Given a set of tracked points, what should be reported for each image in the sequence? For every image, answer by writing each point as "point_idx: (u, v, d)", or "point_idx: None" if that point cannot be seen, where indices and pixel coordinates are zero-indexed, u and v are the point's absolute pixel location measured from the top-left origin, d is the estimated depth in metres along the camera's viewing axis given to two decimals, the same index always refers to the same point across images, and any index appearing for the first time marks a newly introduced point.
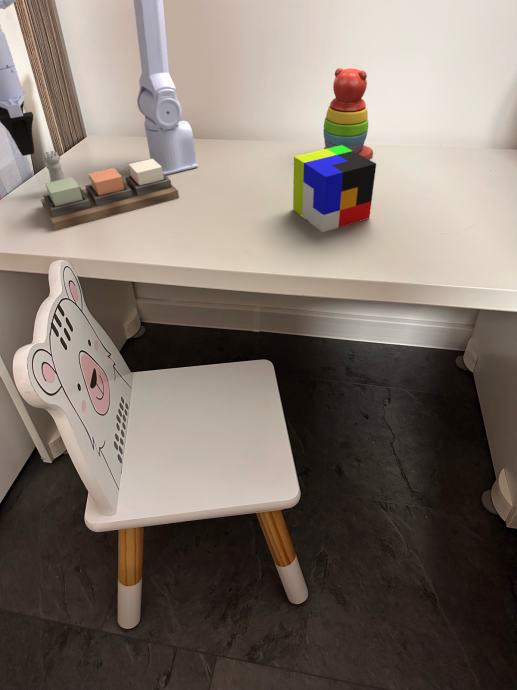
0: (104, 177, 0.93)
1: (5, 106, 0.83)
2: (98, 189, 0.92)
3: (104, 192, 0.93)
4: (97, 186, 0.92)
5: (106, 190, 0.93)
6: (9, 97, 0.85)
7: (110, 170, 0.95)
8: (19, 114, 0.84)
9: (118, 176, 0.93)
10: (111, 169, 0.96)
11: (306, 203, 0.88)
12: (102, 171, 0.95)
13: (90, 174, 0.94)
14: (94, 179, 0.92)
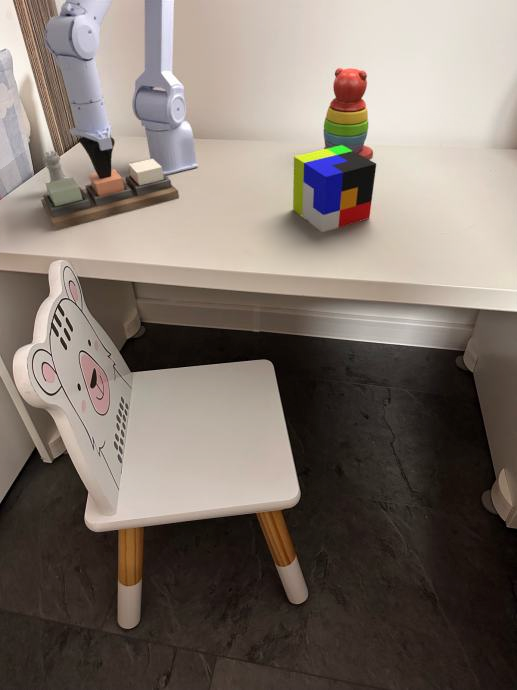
0: (104, 178, 0.93)
1: (96, 139, 0.84)
2: (98, 190, 0.92)
3: (104, 193, 0.93)
4: (97, 187, 0.92)
5: (106, 191, 0.93)
6: (97, 129, 0.86)
7: None
8: (109, 146, 0.84)
9: (118, 177, 0.93)
10: (111, 170, 0.96)
11: (307, 203, 0.88)
12: None
13: (90, 175, 0.94)
14: (94, 180, 0.93)
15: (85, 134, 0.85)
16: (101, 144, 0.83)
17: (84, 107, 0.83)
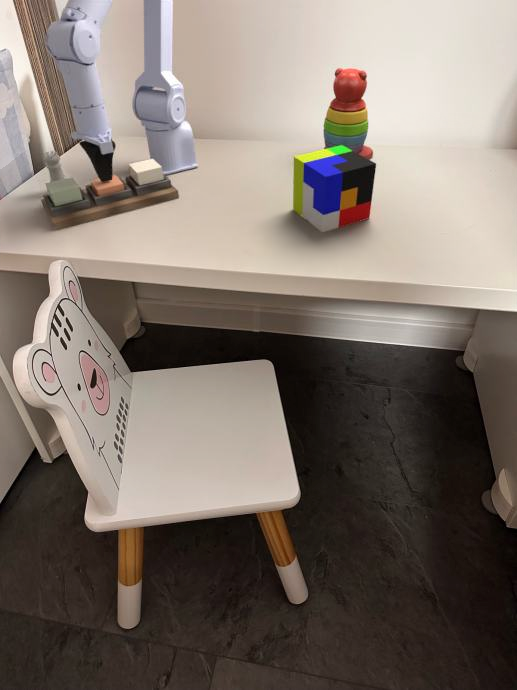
0: (105, 184, 0.94)
1: (97, 143, 0.84)
2: None
3: None
4: (99, 193, 0.93)
5: None
6: (99, 133, 0.86)
7: None
8: (110, 150, 0.85)
9: (120, 183, 0.94)
10: (113, 176, 0.97)
11: (306, 203, 0.88)
12: None
13: (92, 181, 0.95)
14: (96, 186, 0.93)
15: (86, 138, 0.86)
16: (102, 148, 0.84)
17: (85, 111, 0.84)
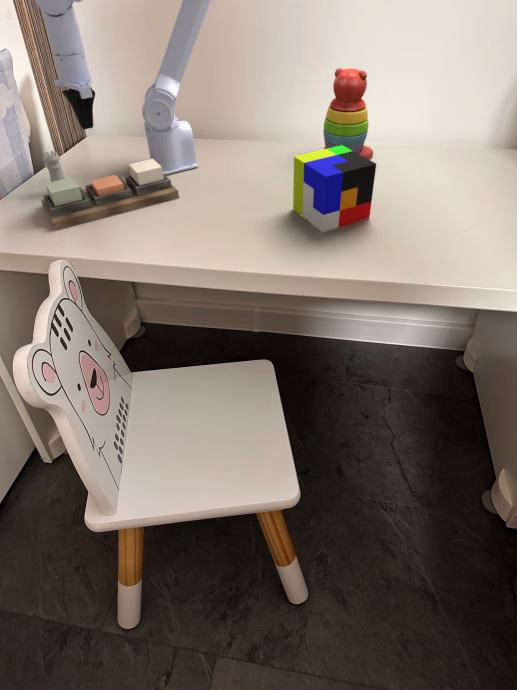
0: (105, 184, 0.94)
1: (77, 88, 0.92)
2: None
3: None
4: (99, 193, 0.93)
5: None
6: (79, 80, 0.94)
7: (111, 177, 0.96)
8: (89, 95, 0.93)
9: (120, 183, 0.94)
10: (113, 176, 0.97)
11: (307, 203, 0.88)
12: (104, 178, 0.96)
13: (92, 181, 0.95)
14: (96, 186, 0.93)
15: (67, 84, 0.94)
16: (82, 92, 0.92)
17: (66, 59, 0.92)
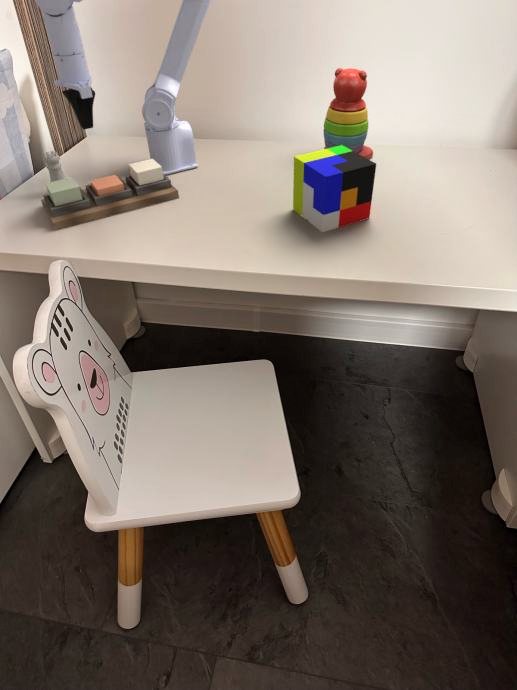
0: (105, 184, 0.94)
1: (77, 88, 0.92)
2: None
3: None
4: (99, 193, 0.93)
5: None
6: (79, 80, 0.94)
7: (111, 177, 0.96)
8: (89, 95, 0.93)
9: (120, 183, 0.94)
10: (113, 176, 0.97)
11: (306, 203, 0.88)
12: (104, 178, 0.96)
13: (92, 181, 0.95)
14: (96, 186, 0.93)
15: (67, 84, 0.94)
16: (82, 92, 0.92)
17: (66, 59, 0.92)
